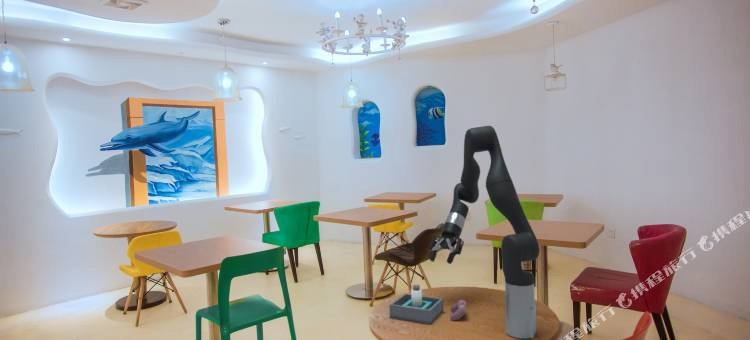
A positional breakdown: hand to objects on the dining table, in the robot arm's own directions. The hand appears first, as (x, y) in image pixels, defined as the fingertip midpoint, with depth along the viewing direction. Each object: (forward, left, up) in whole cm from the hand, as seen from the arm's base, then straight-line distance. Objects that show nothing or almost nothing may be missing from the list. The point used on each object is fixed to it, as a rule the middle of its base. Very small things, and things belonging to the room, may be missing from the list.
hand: (439, 261), depth 173 cm
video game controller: (-9, +6, -18) cm, 21 cm away
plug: (+6, +11, -17) cm, 21 cm away
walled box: (+6, +11, -18) cm, 22 cm away
